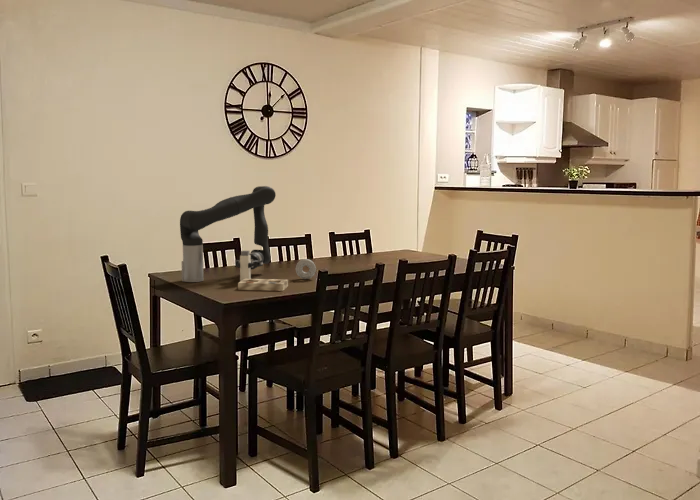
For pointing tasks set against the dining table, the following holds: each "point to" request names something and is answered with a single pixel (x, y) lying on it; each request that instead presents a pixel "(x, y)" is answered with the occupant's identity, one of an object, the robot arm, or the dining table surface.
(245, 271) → the plug
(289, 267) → the dining table surface
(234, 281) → the dining table surface
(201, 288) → the dining table surface
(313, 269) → the donut
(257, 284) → the socket board
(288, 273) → the dining table surface
